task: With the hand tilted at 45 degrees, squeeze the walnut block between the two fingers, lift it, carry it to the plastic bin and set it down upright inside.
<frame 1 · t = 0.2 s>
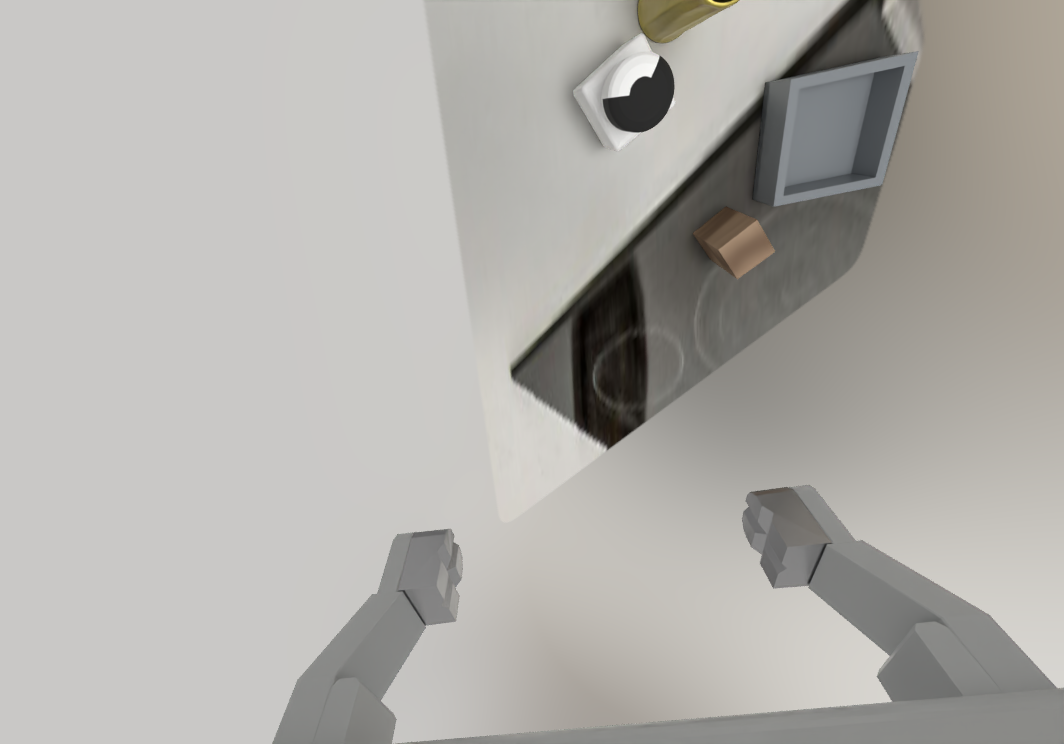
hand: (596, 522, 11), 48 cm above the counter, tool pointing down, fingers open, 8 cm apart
block: (717, 234, 54), on the counter
bin: (811, 133, 48), on the counter
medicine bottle: (613, 98, 46), on the counter
vase: (666, 5, 41), on the counter
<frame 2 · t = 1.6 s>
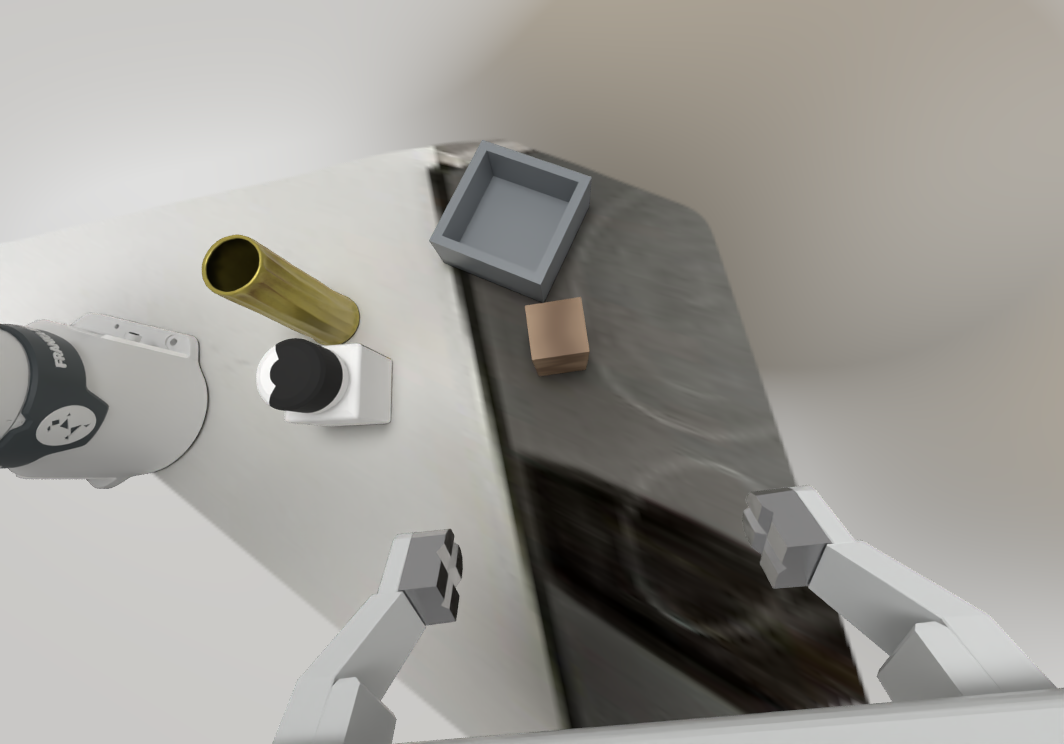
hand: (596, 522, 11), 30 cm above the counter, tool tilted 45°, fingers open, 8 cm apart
block: (559, 350, 42), on the counter
bin: (516, 234, 45), on the counter
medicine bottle: (362, 392, 44), on the counter
vase: (335, 321, 46), on the counter
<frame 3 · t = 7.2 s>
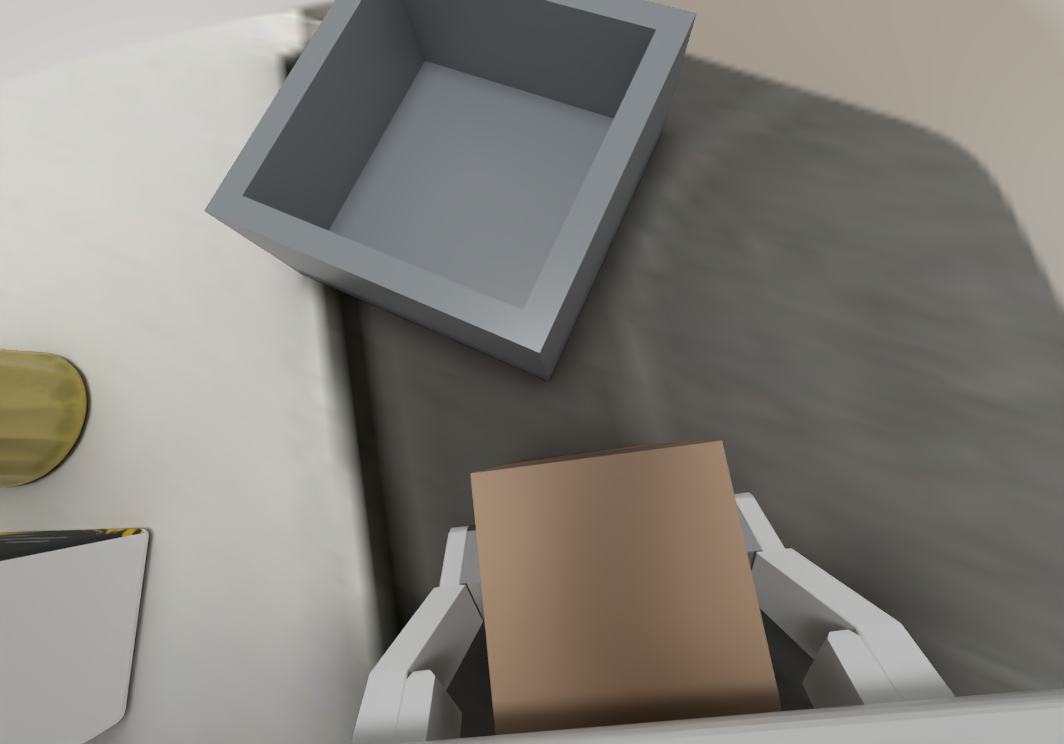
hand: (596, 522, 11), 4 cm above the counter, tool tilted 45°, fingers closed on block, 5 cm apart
block: (592, 518, 15), on the counter, touching gripper
bin: (480, 203, 18), on the counter
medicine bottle: (70, 617, 17), on the counter
vase: (36, 418, 19), on the counter
when the fingers open (7 cm above the counter, at t = 15.9 s): block drops 1 cm, resting on bin.
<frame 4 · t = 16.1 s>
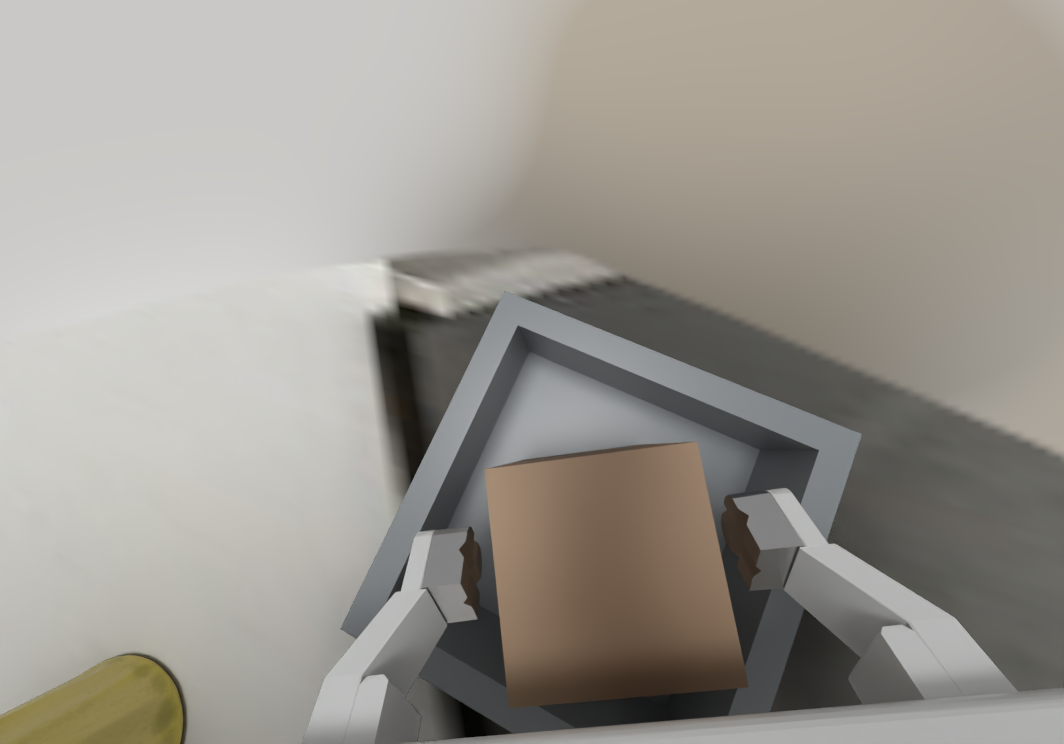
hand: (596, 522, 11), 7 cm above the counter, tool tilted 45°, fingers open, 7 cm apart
block: (589, 512, 17), point 1 cm above the counter, touching bin
bin: (589, 509, 18), on the counter
vase: (128, 725, 18), on the counter
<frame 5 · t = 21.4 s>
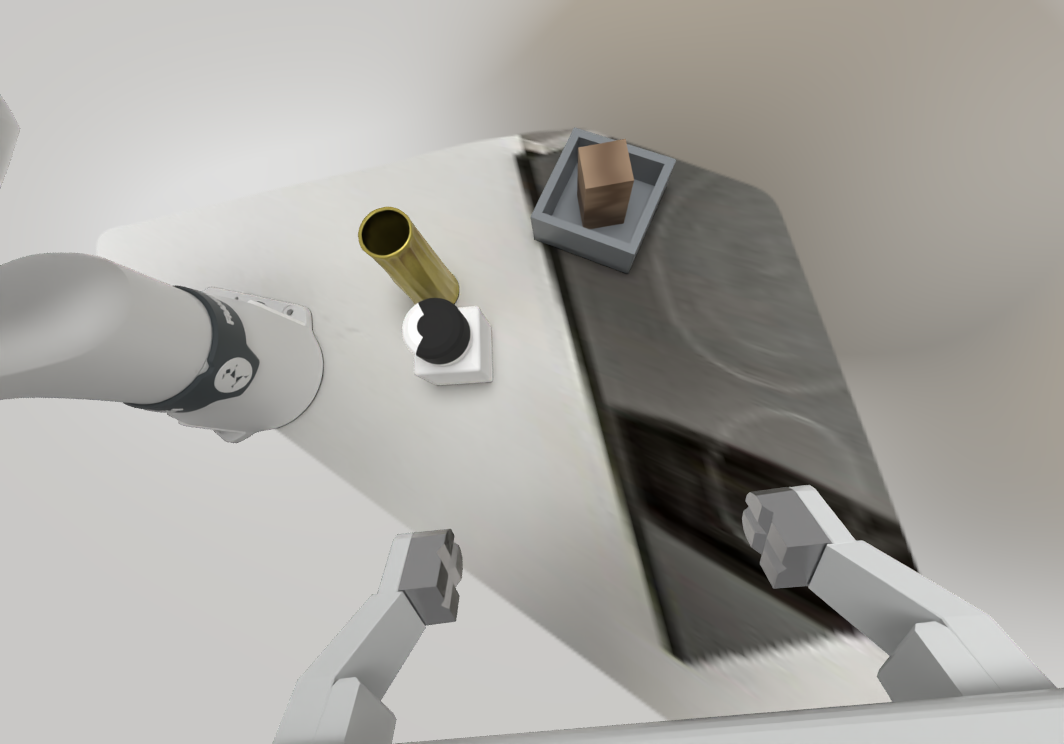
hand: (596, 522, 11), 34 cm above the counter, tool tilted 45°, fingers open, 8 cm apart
block: (600, 208, 49), point 1 cm above the counter, touching bin
bin: (599, 213, 50), on the counter
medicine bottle: (464, 355, 49), on the counter
vase: (436, 292, 50), on the counter
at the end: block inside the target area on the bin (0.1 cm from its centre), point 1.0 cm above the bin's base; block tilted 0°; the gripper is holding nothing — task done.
